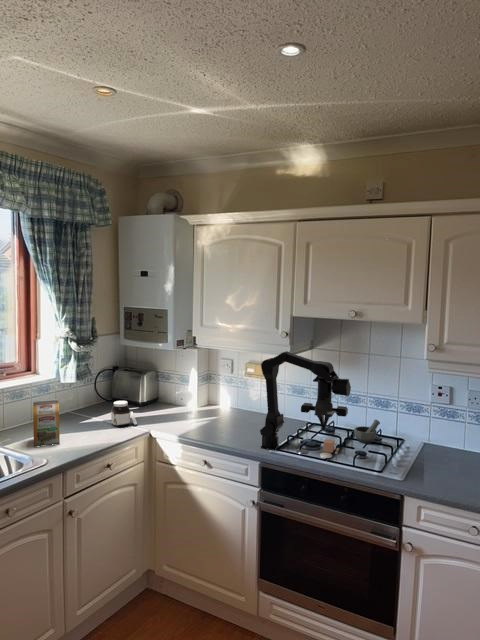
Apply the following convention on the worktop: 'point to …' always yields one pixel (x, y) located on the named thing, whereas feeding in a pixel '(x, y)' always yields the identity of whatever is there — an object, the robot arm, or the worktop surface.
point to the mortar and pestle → (366, 432)
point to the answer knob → (328, 445)
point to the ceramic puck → (326, 455)
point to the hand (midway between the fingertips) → (323, 429)
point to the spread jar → (121, 414)
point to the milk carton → (46, 422)
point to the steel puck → (302, 452)
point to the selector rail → (300, 444)
